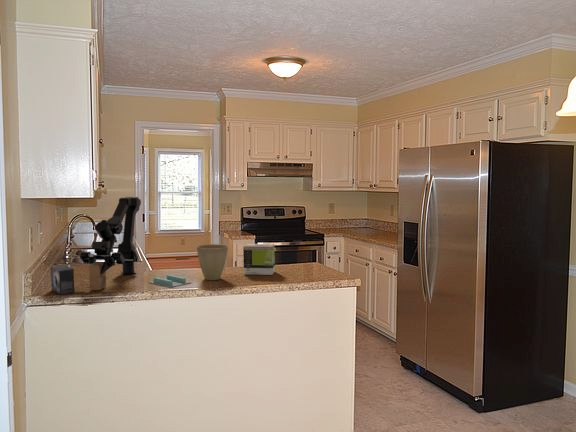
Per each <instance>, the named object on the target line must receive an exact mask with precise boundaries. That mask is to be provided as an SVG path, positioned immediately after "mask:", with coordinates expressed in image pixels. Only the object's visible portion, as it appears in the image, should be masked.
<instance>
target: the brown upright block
mask: <svg viewBox="0 0 576 432" xmlns="http://www.w3.org/2000/svg"><path fill="white" fill-rule="evenodd" d="M103 264H104V261H96V262H95V263H93V264H90V263H89V265H88V268H89V269H88V270H89V272H88V273H89V291H100V290H103V289H104V288H106V287H107V275H106V274H107V273H106V272H107V271H105V272H104V273H103V274H102V275H101V274H100V273H101V269H102V267H103Z"/></svg>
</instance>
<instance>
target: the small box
mask: <svg viewBox="0 0 576 432" xmlns="http://www.w3.org/2000/svg"><path fill="white" fill-rule="evenodd" d="M74 270H75V268H73V267H70V266H67V265H66V264H65V265H58V266H57V265H56V266H50V279H51V280H50V281H51V282H50V283H51V291H52V292H54V293H56V294H58V295H59V296H63V295H68V294H75V292H76V291H75V275H74V274H75V271H74Z"/></svg>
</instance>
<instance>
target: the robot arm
mask: <svg viewBox="0 0 576 432" xmlns="http://www.w3.org/2000/svg"><path fill="white" fill-rule="evenodd" d="M141 203H142V201H141V199H140V198H139V197H138V196H125V197H120V198H119V199H118V204H117V206H116V208H115V210H114V213H113V215H112V216H111V217H110V218H109V219H101V221H100V222H98V223H96V224H95V226H94V229H95V231H96V233H97V235H98V237H99V238H100V239H101V241H92V245H91V249H92V250H93V253H91V252H90V251H81V252H80V253H79V255H78V257H79V258H80V260H81V261H82V263H83V264H89V265H90V264H93V263H95V262H97V261H103V262H104V264H103V267H102V269H101V273H100V274H101V275H102V274H103V273H104V272H105V271H106V272H107V271H108V270H109V269H111V267H113V266H116V265H121V266H122V271H120V274H121V275H123V276H126V275H135V274H136V275H137V272H136V271H135V263H136V262H139V256H138V253H137V251H136V246H135V245H134V242H133V241H134V233H135V232H134V231H135V222H136V221H135V220H136V215H137V213H138V212H139V211H140V206H141V205H142V204H141ZM123 221H124V223H123ZM123 225H124V228H123ZM122 232H123V234H122V235H123V237H122V241H121V243H119V244H118V247H117V252H116V251H115V252H114V246H115V243H118V240H117V236H116V235H120V234H121V233H122Z"/></svg>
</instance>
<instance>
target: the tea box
mask: <svg viewBox="0 0 576 432" xmlns="http://www.w3.org/2000/svg"><path fill="white" fill-rule="evenodd" d="M242 247H243V248H242V251H243V258H242V259H243V260H242V261H243V275H256V276H257V275H261V276H262V275H263V276H267V275H268V276H272V275H274V273H275V272H274V271H275V269H276V268H275V267H276V263H275V262H276V259H275V257H276V256H275V252H276V251H275V249H276V248H275V247H276V246H275V244H273V243H246V244H245V245H243V246H242Z"/></svg>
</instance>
